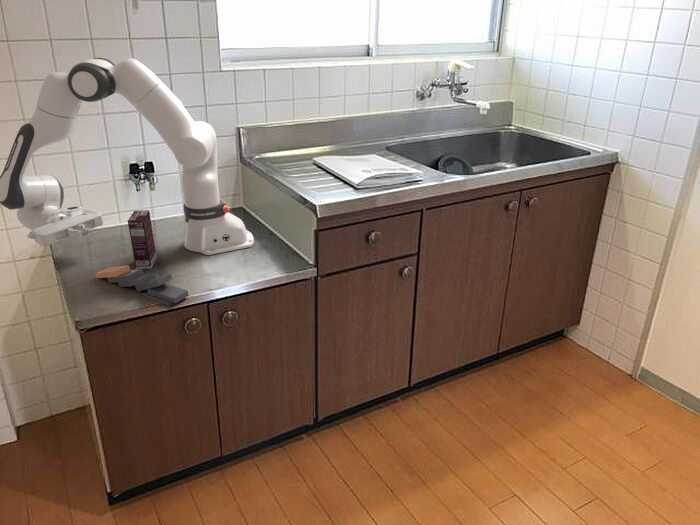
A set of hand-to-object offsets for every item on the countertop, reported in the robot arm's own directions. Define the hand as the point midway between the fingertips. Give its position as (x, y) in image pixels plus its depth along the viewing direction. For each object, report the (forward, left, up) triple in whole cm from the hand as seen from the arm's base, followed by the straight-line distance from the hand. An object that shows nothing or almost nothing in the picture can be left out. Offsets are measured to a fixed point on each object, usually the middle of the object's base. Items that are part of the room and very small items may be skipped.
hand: (84, 233), depth 174 cm
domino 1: (-4, +5, -11) cm, 13 cm away
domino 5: (-17, +20, -12) cm, 29 cm away
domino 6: (-18, +21, -10) cm, 30 cm away
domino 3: (-10, +13, -11) cm, 20 cm away
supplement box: (-16, +1, -12) cm, 20 cm away
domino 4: (-15, +17, -11) cm, 25 cm away
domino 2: (-7, +10, -11) cm, 16 cm away
